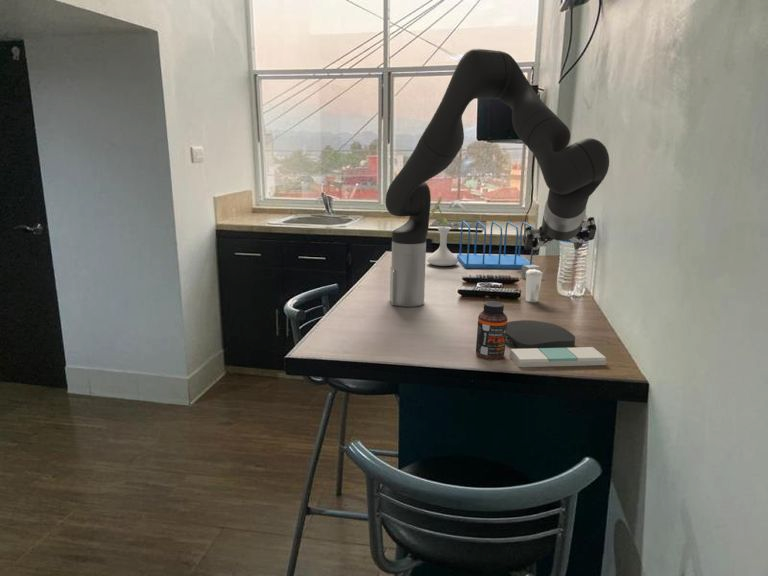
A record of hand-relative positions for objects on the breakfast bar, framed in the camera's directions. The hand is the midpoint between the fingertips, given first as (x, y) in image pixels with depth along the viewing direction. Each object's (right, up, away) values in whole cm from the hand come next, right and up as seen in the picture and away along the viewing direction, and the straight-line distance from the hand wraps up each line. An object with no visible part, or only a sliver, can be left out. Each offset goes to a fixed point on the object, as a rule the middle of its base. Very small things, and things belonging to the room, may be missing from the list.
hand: (555, 248), depth 120 cm
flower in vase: (-17, -1, +79) cm, 81 cm away
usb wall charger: (+10, -6, +62) cm, 63 cm away
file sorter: (+3, 0, +83) cm, 83 cm away
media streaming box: (-4, -21, +3) cm, 22 cm away
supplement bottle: (-16, -23, -6) cm, 29 cm away
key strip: (-2, -24, -8) cm, 25 cm away
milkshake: (+4, -13, +35) cm, 37 cm away
